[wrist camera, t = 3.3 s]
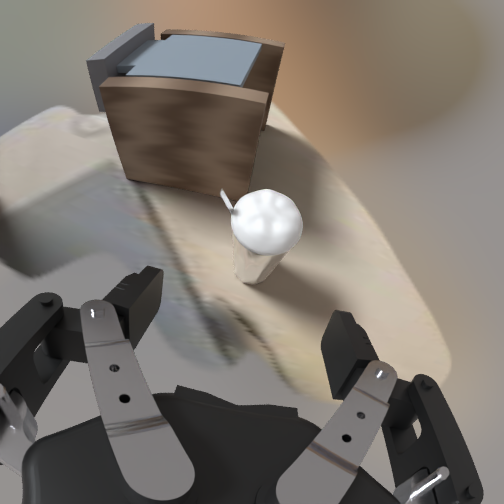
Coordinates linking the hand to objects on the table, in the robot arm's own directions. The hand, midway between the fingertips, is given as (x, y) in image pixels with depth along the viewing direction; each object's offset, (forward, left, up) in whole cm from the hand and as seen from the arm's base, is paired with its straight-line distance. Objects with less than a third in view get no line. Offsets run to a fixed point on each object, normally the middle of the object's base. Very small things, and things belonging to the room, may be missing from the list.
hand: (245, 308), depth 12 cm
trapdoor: (-10, +19, -3) cm, 22 cm away
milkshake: (0, +6, -11) cm, 12 cm away
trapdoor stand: (-8, +19, -11) cm, 23 cm away
